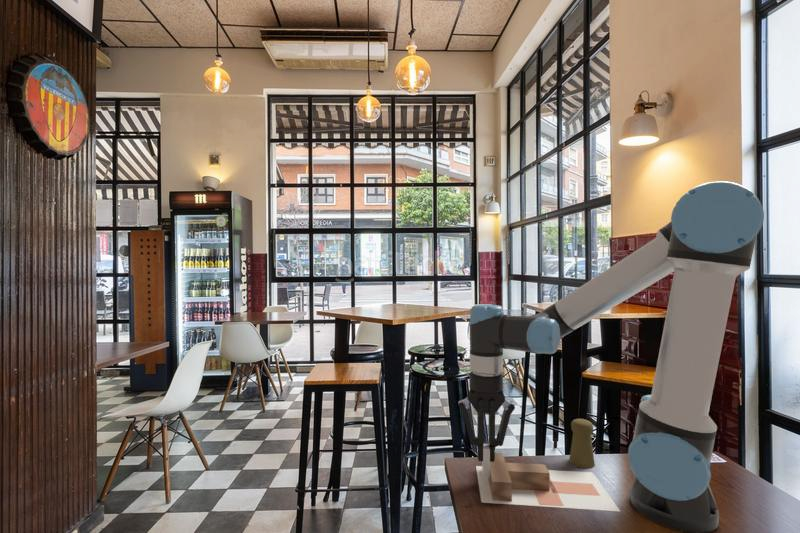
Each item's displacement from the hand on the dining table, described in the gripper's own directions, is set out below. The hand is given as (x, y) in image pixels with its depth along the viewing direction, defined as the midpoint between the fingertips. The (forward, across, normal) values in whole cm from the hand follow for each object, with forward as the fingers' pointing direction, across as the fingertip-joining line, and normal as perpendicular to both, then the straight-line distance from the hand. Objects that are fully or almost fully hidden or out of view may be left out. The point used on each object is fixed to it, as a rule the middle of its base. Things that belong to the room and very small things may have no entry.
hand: (485, 474), depth 96 cm
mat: (+2, -12, 0) cm, 13 cm away
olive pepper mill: (+3, -25, -13) cm, 29 cm away
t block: (+2, -6, 0) cm, 7 cm away
